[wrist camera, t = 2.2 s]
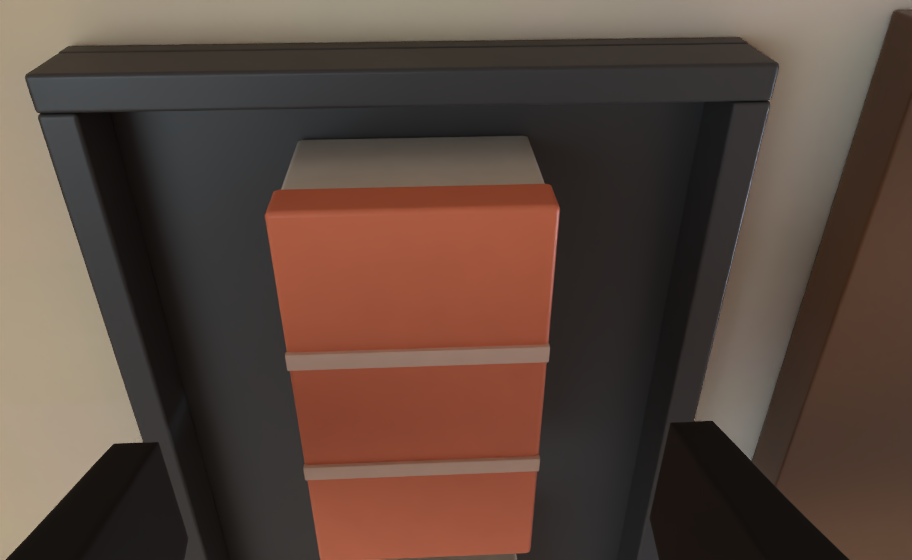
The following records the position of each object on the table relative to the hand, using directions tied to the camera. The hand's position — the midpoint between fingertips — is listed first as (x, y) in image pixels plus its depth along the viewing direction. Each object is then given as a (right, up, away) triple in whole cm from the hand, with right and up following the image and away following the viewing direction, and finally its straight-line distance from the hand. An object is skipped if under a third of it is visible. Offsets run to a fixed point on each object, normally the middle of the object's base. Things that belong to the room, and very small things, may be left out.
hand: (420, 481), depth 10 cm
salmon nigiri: (0, +2, +4) cm, 5 cm away
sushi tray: (0, -1, +7) cm, 7 cm away
